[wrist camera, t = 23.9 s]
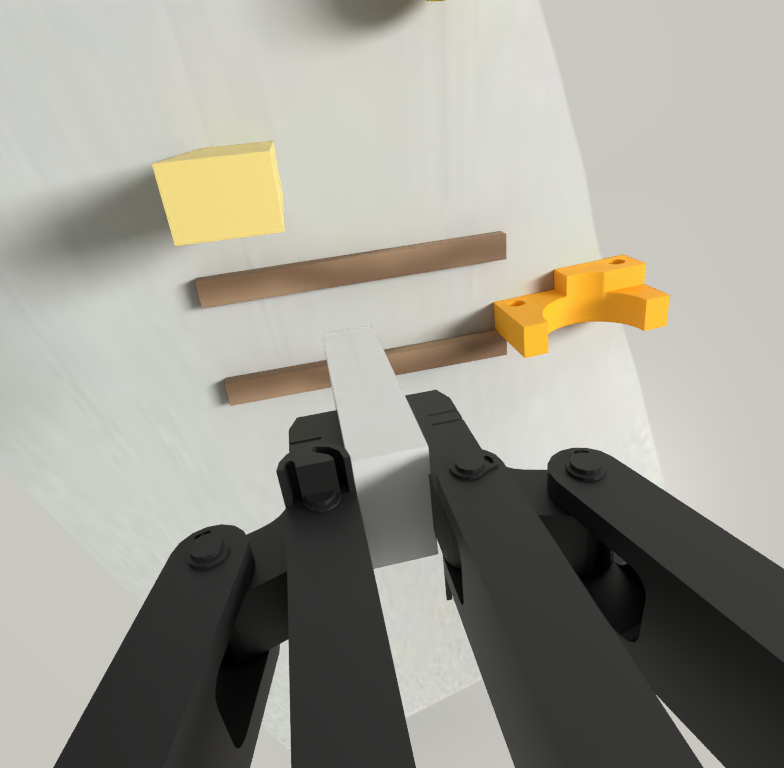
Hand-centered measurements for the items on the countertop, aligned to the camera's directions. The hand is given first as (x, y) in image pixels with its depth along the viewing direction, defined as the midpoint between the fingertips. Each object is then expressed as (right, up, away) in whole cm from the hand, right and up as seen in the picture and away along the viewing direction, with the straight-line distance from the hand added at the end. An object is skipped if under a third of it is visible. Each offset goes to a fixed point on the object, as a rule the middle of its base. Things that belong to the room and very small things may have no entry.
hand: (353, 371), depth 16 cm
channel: (-1, +5, +27) cm, 28 cm away
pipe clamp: (+16, +8, +30) cm, 35 cm away
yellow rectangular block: (-9, +15, +21) cm, 27 cm away
